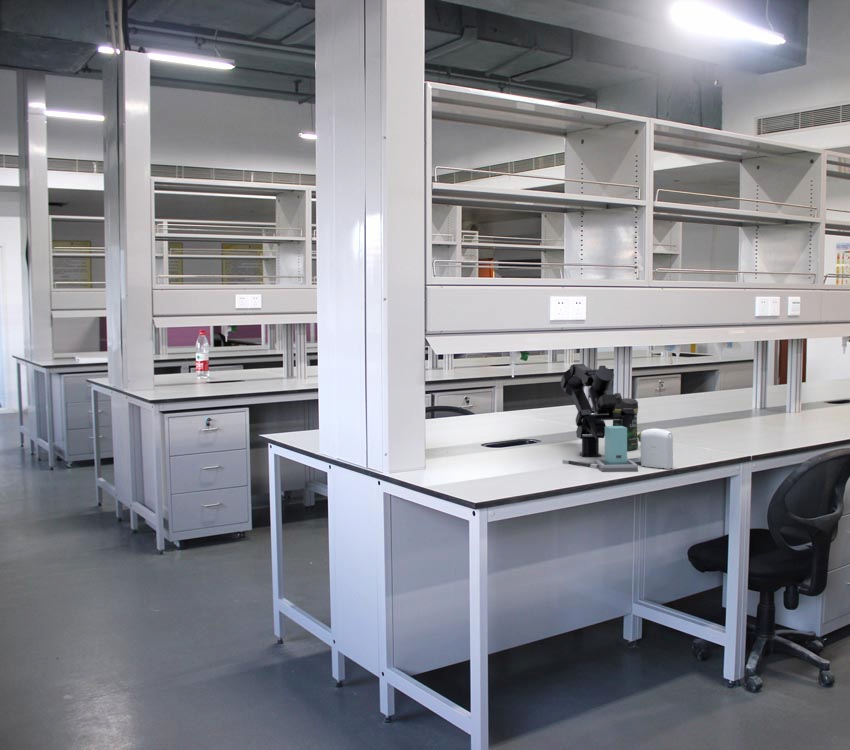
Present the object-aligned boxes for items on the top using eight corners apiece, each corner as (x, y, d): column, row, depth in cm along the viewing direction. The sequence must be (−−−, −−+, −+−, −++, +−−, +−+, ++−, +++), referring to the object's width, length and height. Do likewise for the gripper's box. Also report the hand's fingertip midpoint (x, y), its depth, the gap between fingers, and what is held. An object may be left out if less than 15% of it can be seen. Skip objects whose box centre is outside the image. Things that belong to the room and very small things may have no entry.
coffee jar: (626, 452, 287) (626, 400, 285) (608, 449, 292) (607, 398, 291) (642, 448, 293) (642, 398, 292) (623, 446, 299) (623, 396, 298)
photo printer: (638, 466, 258) (638, 428, 258) (644, 464, 262) (645, 426, 261) (668, 470, 251) (668, 430, 251) (674, 468, 255) (675, 429, 254)
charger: (604, 463, 258) (604, 426, 257) (621, 463, 258) (621, 425, 257) (610, 466, 252) (610, 428, 252) (627, 465, 253) (627, 427, 252)
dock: (594, 465, 261) (594, 459, 261) (629, 465, 261) (629, 459, 261) (602, 471, 250) (602, 465, 250) (637, 471, 250) (637, 465, 250)
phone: (598, 463, 265) (598, 460, 264) (636, 461, 268) (636, 457, 268) (608, 467, 258) (608, 463, 258) (647, 464, 261) (647, 461, 261)
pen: (562, 462, 267) (562, 459, 267) (565, 462, 268) (565, 459, 268) (596, 468, 256) (596, 465, 256) (599, 467, 257) (599, 464, 257)
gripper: (578, 385, 262) (588, 424, 252) (633, 383, 264) (646, 422, 254) (571, 406, 270) (581, 444, 260) (624, 405, 272) (636, 442, 262)
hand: (611, 438), depth 259 cm, fingers open, 9 cm apart
